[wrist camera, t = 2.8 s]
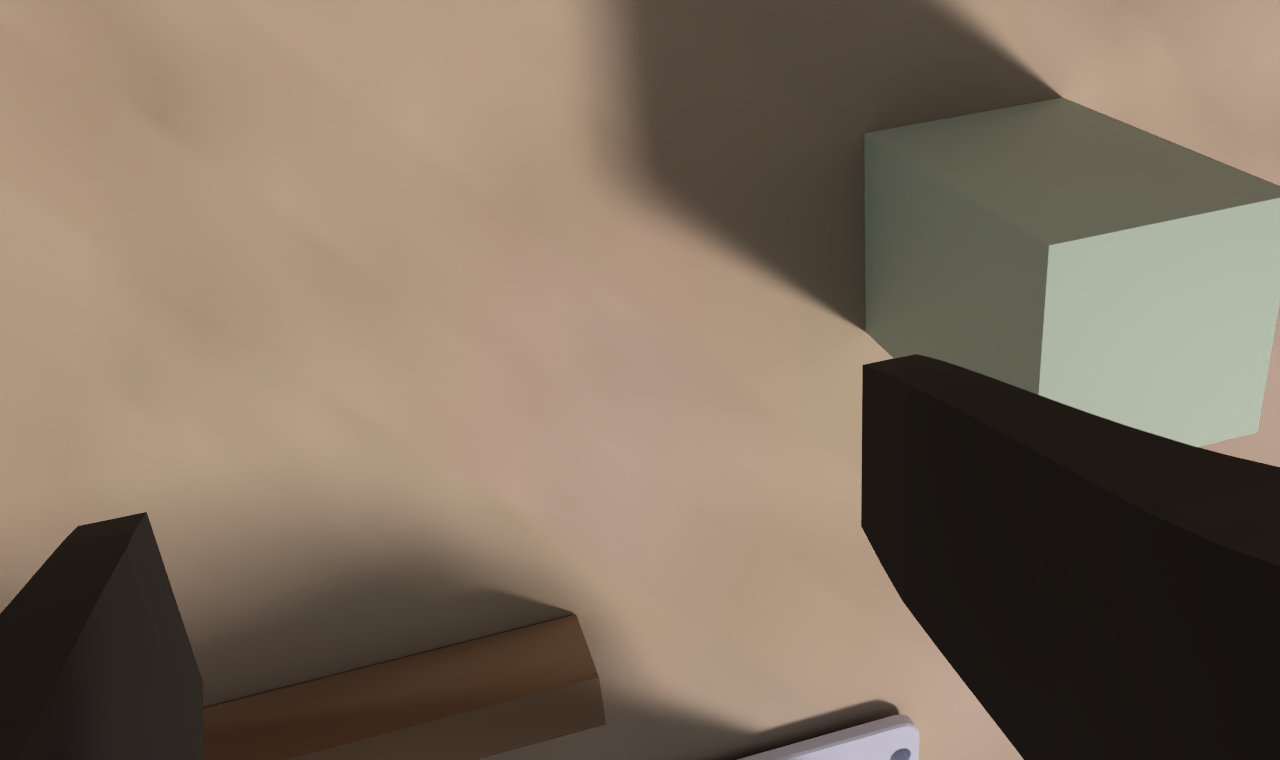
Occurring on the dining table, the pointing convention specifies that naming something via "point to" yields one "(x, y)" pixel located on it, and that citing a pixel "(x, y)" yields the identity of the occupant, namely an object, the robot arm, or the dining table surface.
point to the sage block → (1077, 264)
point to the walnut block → (423, 704)
